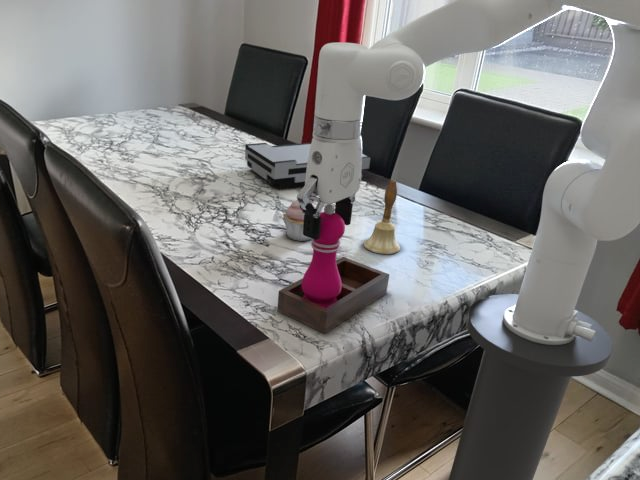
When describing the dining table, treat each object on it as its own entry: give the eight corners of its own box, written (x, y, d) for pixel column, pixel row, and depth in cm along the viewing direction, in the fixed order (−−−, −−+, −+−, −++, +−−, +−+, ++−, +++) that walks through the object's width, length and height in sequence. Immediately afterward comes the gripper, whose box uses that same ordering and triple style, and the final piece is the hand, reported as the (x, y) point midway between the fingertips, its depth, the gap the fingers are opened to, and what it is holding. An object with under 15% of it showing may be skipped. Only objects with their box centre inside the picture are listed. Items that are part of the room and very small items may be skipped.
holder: (386, 293, 114) (389, 274, 112) (324, 334, 100) (327, 313, 98) (341, 275, 120) (343, 256, 118) (277, 311, 107) (278, 290, 105)
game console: (367, 180, 176) (370, 153, 172) (273, 191, 164) (275, 163, 160) (332, 161, 193) (334, 136, 189) (244, 170, 181) (245, 144, 177)
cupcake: (314, 227, 142) (317, 188, 137) (324, 243, 134) (328, 202, 129) (277, 229, 141) (279, 189, 136) (285, 244, 133) (287, 203, 128)
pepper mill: (317, 293, 111) (326, 194, 102) (346, 307, 107) (359, 205, 97) (291, 305, 107) (299, 203, 97) (321, 321, 102) (333, 216, 93)
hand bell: (388, 237, 138) (398, 173, 130) (406, 252, 131) (418, 185, 124) (357, 241, 136) (366, 175, 128) (374, 256, 129) (384, 187, 121)
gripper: (323, 142, 83) (313, 251, 91) (386, 124, 94) (372, 222, 103) (283, 132, 87) (277, 237, 96) (348, 116, 99) (338, 211, 107)
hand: (327, 229), depth 99 cm, fingers open, 8 cm apart
